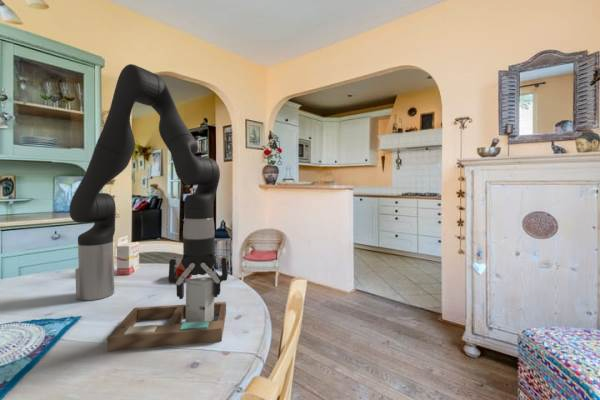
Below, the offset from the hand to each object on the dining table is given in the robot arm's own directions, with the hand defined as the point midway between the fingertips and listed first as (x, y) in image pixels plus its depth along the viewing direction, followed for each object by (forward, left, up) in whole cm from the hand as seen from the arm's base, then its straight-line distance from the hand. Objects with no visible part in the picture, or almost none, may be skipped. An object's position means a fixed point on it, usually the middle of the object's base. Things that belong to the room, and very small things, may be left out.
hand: (199, 297), depth 73 cm
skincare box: (0, 0, -8) cm, 8 cm away
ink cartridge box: (-36, +50, -8) cm, 62 cm away
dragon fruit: (-12, +37, -8) cm, 40 cm away
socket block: (-6, -2, -7) cm, 9 cm away
